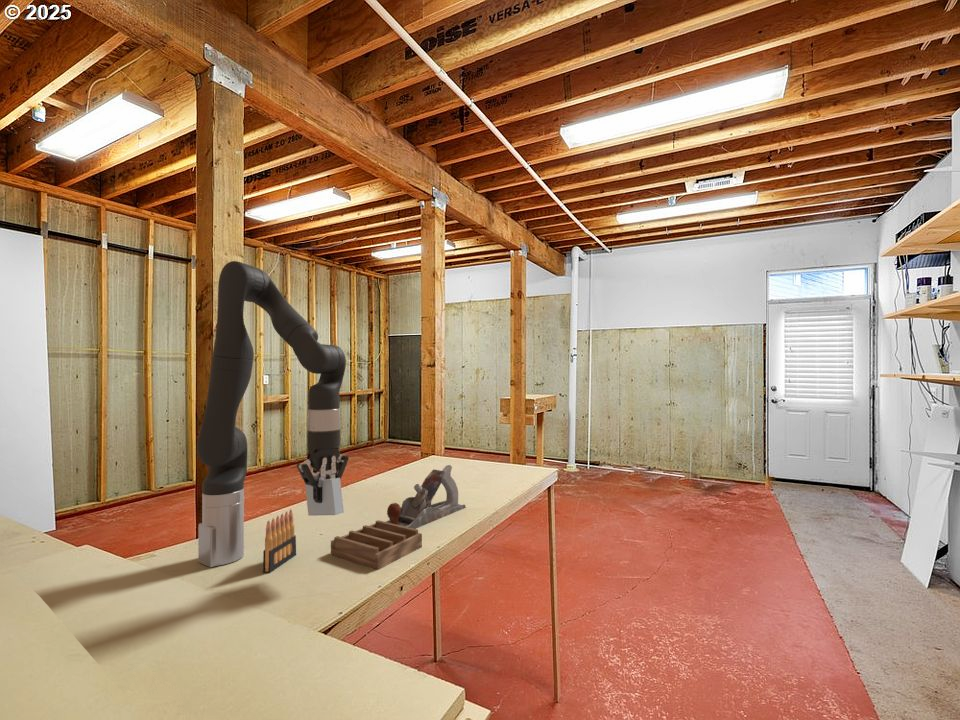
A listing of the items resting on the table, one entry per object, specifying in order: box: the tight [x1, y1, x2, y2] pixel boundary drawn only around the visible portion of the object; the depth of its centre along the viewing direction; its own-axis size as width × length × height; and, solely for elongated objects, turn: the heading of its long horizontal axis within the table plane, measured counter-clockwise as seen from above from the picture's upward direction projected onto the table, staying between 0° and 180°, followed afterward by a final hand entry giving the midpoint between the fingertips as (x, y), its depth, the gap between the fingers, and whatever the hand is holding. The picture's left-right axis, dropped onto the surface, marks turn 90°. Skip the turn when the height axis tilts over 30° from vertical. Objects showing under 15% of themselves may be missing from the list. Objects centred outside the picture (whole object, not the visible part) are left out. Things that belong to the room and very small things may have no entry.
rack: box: [330, 519, 423, 570], centre depth 119 cm, size 16×17×4 cm
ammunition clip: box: [262, 508, 297, 574], centre depth 112 cm, size 11×2×12 cm, turn 169°
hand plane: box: [385, 464, 467, 529], centre depth 145 cm, size 9×33×15 cm, turn 144°
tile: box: [304, 478, 345, 517], centre depth 107 cm, size 2×10×8 cm, turn 57°
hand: (323, 500), depth 107 cm, fingers closed on tile, 2 cm apart
